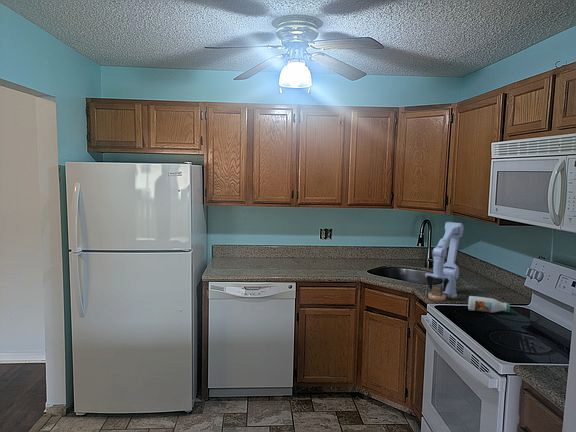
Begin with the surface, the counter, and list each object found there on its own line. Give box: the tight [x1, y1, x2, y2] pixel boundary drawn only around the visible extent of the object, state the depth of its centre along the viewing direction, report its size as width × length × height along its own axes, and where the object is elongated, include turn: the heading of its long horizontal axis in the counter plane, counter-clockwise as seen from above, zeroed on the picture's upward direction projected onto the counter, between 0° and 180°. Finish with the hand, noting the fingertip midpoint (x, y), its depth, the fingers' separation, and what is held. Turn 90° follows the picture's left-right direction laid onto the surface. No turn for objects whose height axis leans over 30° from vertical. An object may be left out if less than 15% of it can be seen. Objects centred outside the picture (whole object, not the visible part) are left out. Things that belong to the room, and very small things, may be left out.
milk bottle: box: [467, 295, 511, 314], centre depth 229 cm, size 8×8×20 cm
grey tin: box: [447, 292, 458, 300], centre depth 253 cm, size 5×5×3 cm
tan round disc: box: [427, 291, 447, 302], centre depth 251 cm, size 10×10×2 cm
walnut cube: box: [431, 284, 444, 296], centre depth 251 cm, size 5×5×5 cm
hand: (437, 290), depth 251 cm, fingers open, 7 cm apart
